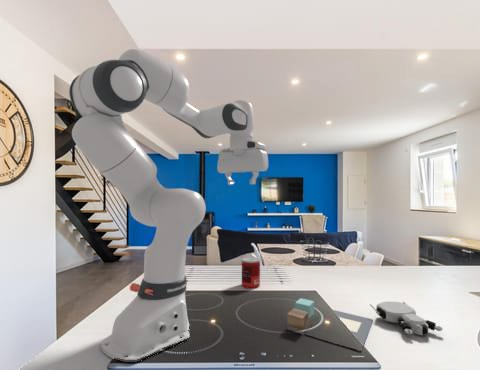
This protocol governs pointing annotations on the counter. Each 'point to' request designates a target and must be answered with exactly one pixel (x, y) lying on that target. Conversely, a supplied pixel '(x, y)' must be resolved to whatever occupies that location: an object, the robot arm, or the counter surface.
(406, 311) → the robot toy
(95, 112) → the robot arm
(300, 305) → the teal block
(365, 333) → the mat
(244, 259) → the canned food
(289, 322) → the walnut block
